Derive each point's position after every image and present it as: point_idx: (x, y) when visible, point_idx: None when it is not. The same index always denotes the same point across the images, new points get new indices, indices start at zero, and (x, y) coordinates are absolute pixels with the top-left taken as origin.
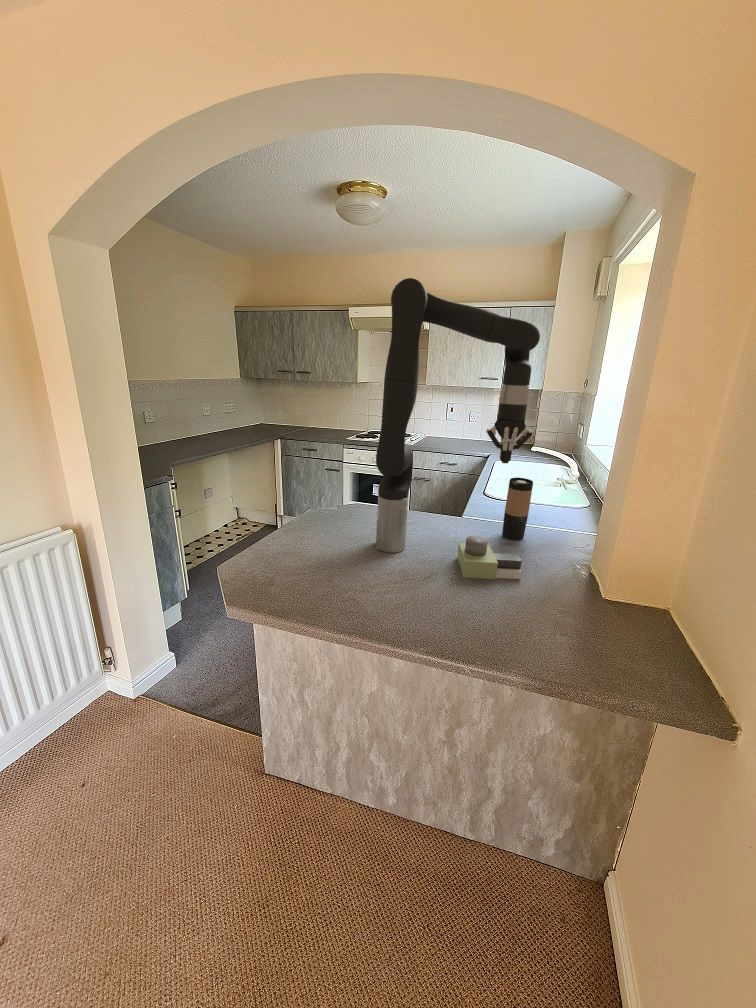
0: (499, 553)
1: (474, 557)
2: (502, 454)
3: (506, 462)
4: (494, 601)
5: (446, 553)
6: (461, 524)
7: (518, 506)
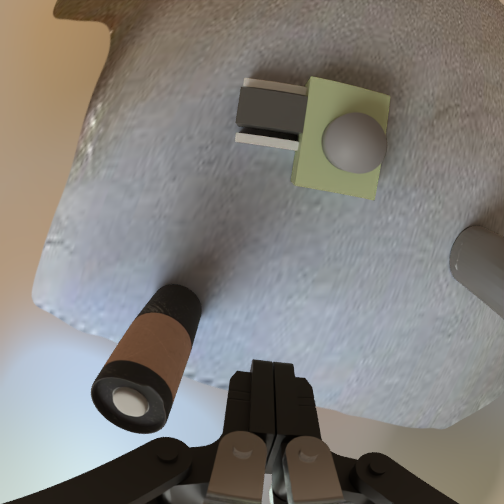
0: (285, 129)
1: (362, 110)
2: (308, 416)
3: (265, 362)
4: (335, 13)
5: (378, 217)
6: None
7: (157, 332)
